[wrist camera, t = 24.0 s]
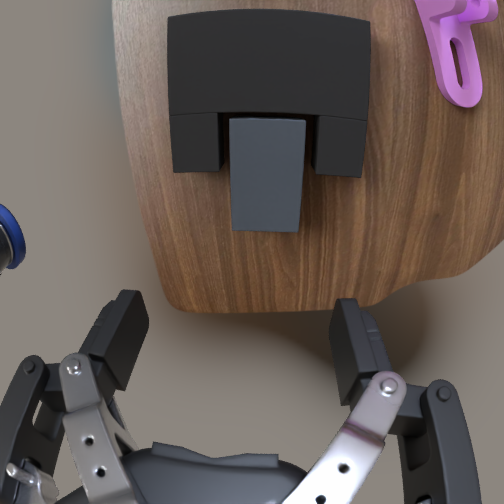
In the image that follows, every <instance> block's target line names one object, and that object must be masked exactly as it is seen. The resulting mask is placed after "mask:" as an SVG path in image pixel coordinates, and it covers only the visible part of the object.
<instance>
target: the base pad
mask: <svg viewBox="0 0 504 504" xmlns="http://www.w3.org/2000/svg"><path fill="white" fill-rule="evenodd" d="M370 54H371V38H370V21H366V20H361V19H356V18H351V17H346V16H340V15H334V14H327V13H319V12H310V11H299V10H284V9H232V10H217V11H206V12H197V13H189V14H182V15H176V16H170V17H168V28H167V65H168V99H169V121H170V136H171V149H172V161H173V172H174V173H181V172H219V171H220V169H221V167H222V166H223V164H224V137H223V113H225V112H271V113H294V114H309V115H314V127H313V145H312V160H311V166H312V167H313V169H314V171H315V173H316V174H319V175H333V176H346V177H357V178H361V175H362V167H363V159H364V151H365V141H366V131H367V119H368V105H369V88H370Z"/></svg>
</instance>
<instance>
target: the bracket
mask: <svg viewBox="0 0 504 504" xmlns="http://www.w3.org/2000/svg"><path fill="white" fill-rule="evenodd" d="M414 1H415V3H416V6H417V9H418V12H419V15H420V18H421V21H422V24H423V27H424V31H425V34H426V38H427V41H428V45H429V49H430V53H431V57H432V62H433V66H434V71H435V76H436V81H437V84H438V87H439V89H440V91H441V93H442V95H443V96H444V97H445V98H446V99H447V100H448V101H449V102H450V103H452V104H454V105H457V106H462V107H473V106H475V105H476V104H477V103H478V102H479V100H480V98H481V95H482V79H481V73H480V68H479V63H478V58H477V53H476V49H475V45H474V41H473V37H472V34H471V30H470V25H471V24H475V23H483V22H491V21H494V20H495V19H496V18H497V15H498V5H497V2H496V0H414ZM450 40H451V41H452V42H453V43H454V44H455V47H456V51H457V55H458V60H459V64H460V69H461V74H462V80H463V85H462V87H460V86H459V84H458V81H457V75H456V70H455V65H454V60H453V56H452V52H451V48H450Z"/></svg>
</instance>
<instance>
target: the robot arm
mask: <svg viewBox="0 0 504 504" xmlns="http://www.w3.org/2000/svg"><path fill="white" fill-rule="evenodd" d="M14 255H15V252H14V246H13V242H12V240H11V237H10V235H9V233H8V231H7V229H6V228H5V226H4V225H3V223H2V222H1V221H0V273H1V272H2V271H3V270H4V269H5V268H6V267H7V266H8V265H9V264H10V263H11V262H12V261H13V260H14ZM0 275H1V274H0ZM148 328H149V317H148V314H147V311H146V307H145V304H144V301H143V298H142V295H141V292H140V291H137V290H121V292H120V293H119V295H118V297H117V298H116V300H115V301H113V300H111V301H110V302H109V303H108V304H107V305H106V306H105V307H103V309H102V310H101V312H100V314H99V316H98V319H96V321H95V323H94V326H92V328H91V330H90V331H89V333H88V335H87V337H86V339H85V341H84V343H83V344H82V346H81V348H80V350H79V352H78V353H73V354H70V355H68V356H66V357H65V358H64V359H63V360H62V362H61V363H54V364H45V363H44V361H43V360H42V359H41V358H40V357H39V356H36V355H31V356H28V357H26V358H25V359H24V360H23V361H22V362H21V363H20V365H19V367H18V369H17V371H16V373H15V375H14V377H13V379H12V381H11V383H10V386H9V388H8V390H7V392H6V394H5V396H4V399H3V401H2V403H1V406H0V504H349V503H350V502H351V501H352V499H353V498H354V496H355V495H356V493H357V492H358V490H359V489H360V487H361V486H362V484H363V483H364V481H365V480H366V478H367V476H368V475H369V473H370V472H371V470H372V468H373V466H374V465H375V463H376V461H377V460H378V458H379V456H380V454H381V453H382V451H383V448H384V446H385V442H384V440H385V438H386V435H387V434H393V435H397V439H398V445H399V453H400V460H401V468H402V478H403V490H404V504H482V502H481V493H480V487H479V479H478V473H477V467H476V462H475V457H474V452H473V448H472V443H471V439H470V435H469V431H468V427H467V423H466V420H465V416H464V413H463V409H462V407H461V403H460V400H459V396H458V393H457V391H456V389H455V387H454V386H453V385H452V384H451V383H450V382H448V381H446V380H441V379H440V380H435V381H433V382H432V383H431V384H430V385H429V386H428V387H422V386H416V385H410V384H407V383H405V381H404V380H403V378H402V377H401V376H399V375H398V374H396V373H394V372H393V370H392V367H391V364H390V361H389V357H388V354H387V351H386V349H385V346H384V343H383V340H382V337H381V334H380V332H379V329H378V326H377V323H376V320H375V319H374V318H373V317H372V315H371V314H370V313H369V312H368V311H360V308H359V305H358V302H357V300H356V299H355V298H341V299H337V300H336V303H335V307H334V311H333V315H332V318H331V322H330V326H329V340H330V345H331V350H332V356H333V361H334V367H335V372H336V378H337V384H338V390H339V397H340V402H341V406H345V405H350V411H351V413H350V414H349V416H348V418H347V419H346V421H345V422H344V424H343V425H342V427H341V428H340V430H339V431H338V432H337V434H336V435H335V437H334V438H333V440H332V441H331V442H330V444H329V445H328V447H327V448H326V449H325V451H324V452H323V453H322V455H321V456H320V457H319V459H318V460H317V461H316V462H315V464H314V465H313V466H312V468H311V469H310V470H309V471H308V473H307V472H306V471H305V470H303V469H301V468H299V467H298V466H296V465H293V464H291V463H288V462H285V461H281V460H278V454H249V453H246V454H240V455H234V456H227V457H219V458H210V457H207V456H205V455H202V454H199V453H197V452H194V451H191V450H189V449H186V448H184V447H180V446H174V445H168V444H162V443H158V442H153V445H152V448H146V449H141V450H139V448H138V446H137V444H136V443H135V441H134V440H133V438H132V437H131V435H130V433H129V431H128V429H127V427H126V425H125V422H124V420H123V417H122V415H121V413H120V410H119V408H118V405H117V402H116V400H115V397H114V396H113V395H114V392H115V390H116V389H117V390H122V391H125V390H126V387H127V384H128V381H129V379H130V376H131V373H132V370H133V368H134V365H135V362H136V360H137V357H138V354H139V351H140V349H141V347H142V344H143V341H144V339H145V336H146V334H147V331H148ZM39 400H41V402H42V405H41V407H40V410H39V413H38V415H37V418H36V421H35V423H34V426H33V423H32V419H33V416H34V413H35V410H36V408H37V405H38V403H39ZM65 432H66V436H67V440H68V443H69V446H70V450H71V453H72V456H73V459H74V462H75V465H76V468H77V471H78V474H79V476H80V479H81V482H82V484H83V485H82V486H81V487H79V488H78V489H76V490H75V491H73V492H71V493H70V494H68V495H67V496H65V497H63V498H62V499H60V500H58V501H57V498H56V497H57V496H58V495H59V490H58V488H57V487H56V485H55V482H54V480H53V474H54V470H55V465H56V462H57V458H58V454H59V450H60V447H61V443H62V440H63V436H64V433H65Z"/></svg>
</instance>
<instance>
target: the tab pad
mask: <svg viewBox="0 0 504 504" xmlns="http://www.w3.org/2000/svg"><path fill="white" fill-rule="evenodd" d="M305 133H306V121H305V120H304V119H303V118H299V117H281V116H233V117H232V118H230V119H229V135H230V182H231V216H232V230H233V231H270V232H298V230H299V219H300V208H301V195H302V182H303V167H304V151H305Z"/></svg>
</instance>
